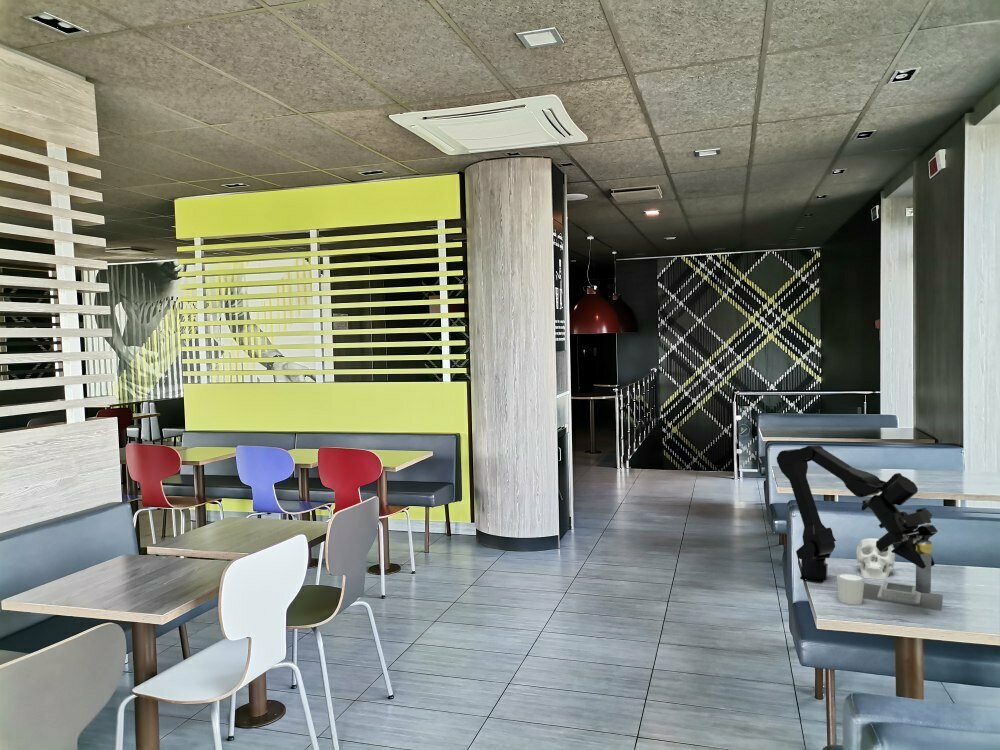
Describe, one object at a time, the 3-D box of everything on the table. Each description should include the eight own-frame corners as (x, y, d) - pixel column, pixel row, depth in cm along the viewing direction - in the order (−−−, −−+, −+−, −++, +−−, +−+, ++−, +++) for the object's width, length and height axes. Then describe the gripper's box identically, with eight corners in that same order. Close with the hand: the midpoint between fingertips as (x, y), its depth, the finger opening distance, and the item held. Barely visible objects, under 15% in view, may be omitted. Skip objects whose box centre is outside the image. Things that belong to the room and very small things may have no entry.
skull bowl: (853, 574, 216) (855, 535, 222) (856, 588, 227) (858, 550, 232) (893, 579, 211) (894, 539, 216) (895, 593, 221) (895, 554, 227)
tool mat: (848, 597, 201) (848, 595, 201) (854, 583, 213) (854, 581, 213) (941, 612, 189) (941, 610, 189) (942, 596, 201) (942, 594, 201)
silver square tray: (877, 599, 198) (877, 589, 198) (880, 588, 206) (880, 579, 206) (919, 605, 193) (919, 596, 193) (921, 594, 201) (921, 585, 201)
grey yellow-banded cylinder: (914, 591, 187) (915, 542, 187) (915, 588, 190) (916, 538, 190) (930, 594, 185) (931, 544, 185) (931, 590, 188) (932, 540, 188)
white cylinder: (837, 605, 195) (837, 579, 195) (835, 596, 202) (835, 571, 201) (866, 608, 193) (866, 581, 192) (862, 599, 199) (863, 574, 199)
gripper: (887, 502, 186) (929, 555, 177) (931, 494, 195) (973, 545, 185) (858, 525, 193) (898, 578, 184) (902, 517, 202) (941, 567, 193)
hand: (928, 566), depth 186 cm, fingers closed on grey yellow-banded cylinder, 3 cm apart
